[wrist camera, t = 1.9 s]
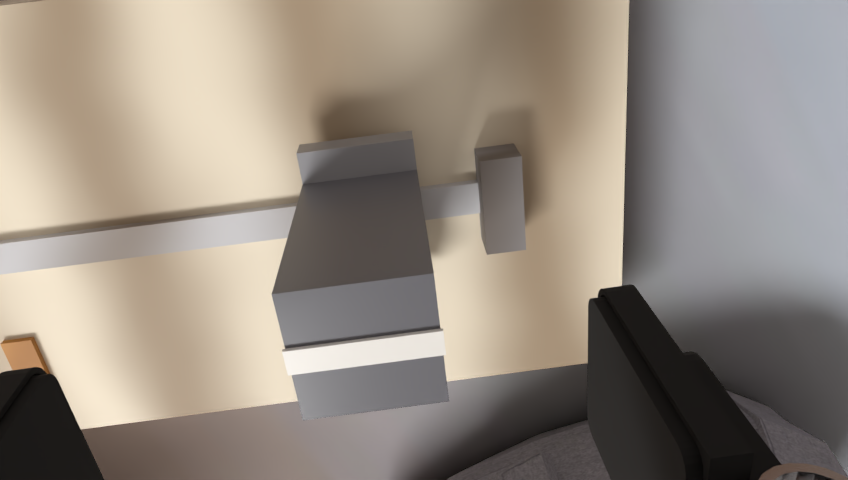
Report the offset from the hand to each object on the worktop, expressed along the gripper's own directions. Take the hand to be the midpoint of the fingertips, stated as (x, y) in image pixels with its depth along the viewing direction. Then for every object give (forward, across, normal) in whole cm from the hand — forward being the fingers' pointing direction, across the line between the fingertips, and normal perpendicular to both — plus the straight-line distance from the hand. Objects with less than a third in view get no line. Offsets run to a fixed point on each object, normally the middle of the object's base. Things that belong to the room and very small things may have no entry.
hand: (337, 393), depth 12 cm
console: (+12, +6, +1) cm, 14 cm away
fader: (+9, -1, +1) cm, 9 cm away
